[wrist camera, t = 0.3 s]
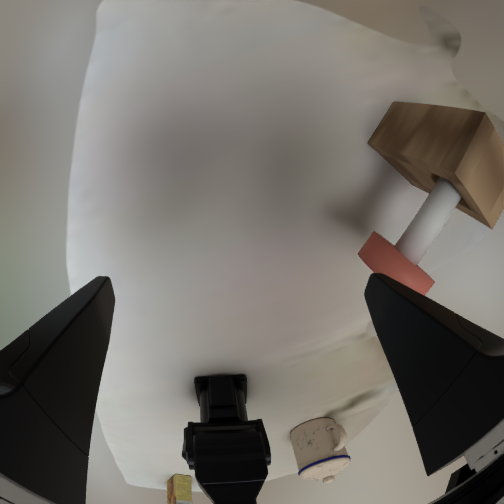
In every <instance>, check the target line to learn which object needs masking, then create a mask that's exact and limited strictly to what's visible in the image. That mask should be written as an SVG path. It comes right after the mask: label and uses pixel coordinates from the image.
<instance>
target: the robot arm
mask: <svg viewBox="0 0 504 504" xmlns="http://www.w3.org/2000/svg"><path fill="white" fill-rule="evenodd" d="M364 296H365V300H366V303H367V306H368V309H369V312H370V315H371V318H372V322H373V325H374V327H375V331H376V333H377V336H378V338H379V341H380V343H381V345H382V348H383V350H384V353H385V355H386V357H387V360H388V362H389V365H390V367H391V370H392V373H393V375H394V378H395V380H396V383H397V386H398V388H399V391H400V394H401V396H402V399H403V401H404V404H405V407H406V410H407V413H408V415H409V419H410V422H411V425H412V427H413V431H414V434H415V437H416V441H417V444H418V447H419V450H420V453H421V456H422V460H423V464H424V467H425V471H426V474H427V476H430V475H431V474H433V473H435V472H437V471H439V470H441V469H442V468H444V467H446V466H448V465H449V464H451V463H453V462H454V461H456V460H457V459H459V458H461V457H462V456H464V457H465V459H466V461H467V464H466V465H464V466H463V467H461V468H460V469H458V470H457V471H455V472H454V473H452V474H451V477H450V480H449V483H448V486H447V489H446V492H445V494H444V495H442V496H441V497H439V498H437V499H436V500H434V501H432V502H430V503H429V504H504V339H503V338H501V337H499V336H497V335H495V334H493V333H491V332H490V331H488V330H486V329H483V328H482V327H480V326H478V325H476V324H474V323H472V322H470V321H469V320H467V319H465V318H463V317H462V316H460V315H458V314H456V313H454V312H453V311H451V310H449V309H447V308H445V307H444V306H442V305H440V304H439V303H437V302H435V301H433V300H431V299H429V298H428V297H426V296H424V295H422V294H421V293H419V292H417V291H415V290H413V289H411V288H409V287H408V286H406V285H404V284H402V283H400V282H398V281H396V280H395V279H393V278H391V277H389V276H387V275H385V274H383V273H372V274H371V275H370V277H369V280H368V283H367V286H366V289H365V293H364ZM114 306H115V295H114V291H113V287H112V283H111V279H110V278H109V277H108V276H98V277H96V278H95V279H93V280H92V281H90V282H89V283H88V284H86V285H85V286H84V287H82V288H81V289H79V290H78V291H77V292H75V293H74V294H73V295H71V296H70V297H69V298H67V299H66V300H65V301H63V302H62V303H61V304H60V305H58V306H57V307H55V308H54V309H53V310H51V311H50V312H49V313H48V314H46V315H45V316H44V317H43V318H41V319H40V320H39V321H38V322H36V323H35V324H34V325H33V326H31V327H30V328H29V330H26V331H25V332H24V333H22V334H21V335H20V336H19V337H18V338H16V339H15V340H14V341H12V342H11V343H10V344H9V345H7V346H6V347H5V348H3V349H2V350H0V504H86V503H85V502H86V483H87V470H88V459H89V457H88V456H89V449H90V441H91V433H92V426H93V420H94V414H95V408H96V402H97V397H98V391H99V386H100V381H101V376H102V372H103V367H104V363H105V358H106V354H107V350H108V345H109V340H110V334H111V326H112V319H113V313H114ZM194 384H195V389H196V393H197V398H198V403H199V406H200V419H201V423H193V422H188V427H186V428H185V429H184V443H183V450H182V457H183V458H184V459H185V460H186V461H187V464H189V469H190V470H195V477H196V480H197V482H198V484H199V486H200V488H201V489H202V490H203V492H204V493H205V494H206V495H207V497H208V498H209V499H210V500H211V502H212V503H213V504H257V503H256V498H257V496H258V494H259V492H260V490H261V488H262V485H263V483H264V481H265V479H266V477H267V475H268V468H267V466H268V465H270V464H271V452H270V445H269V441H268V438H267V435H266V431H265V428H264V425H263V422H262V419H257V420H250V421H248V418H247V411H246V405H245V404H246V394H247V377H246V376H245V375H234V376H217V377H196V378H195V379H194Z"/></svg>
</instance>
